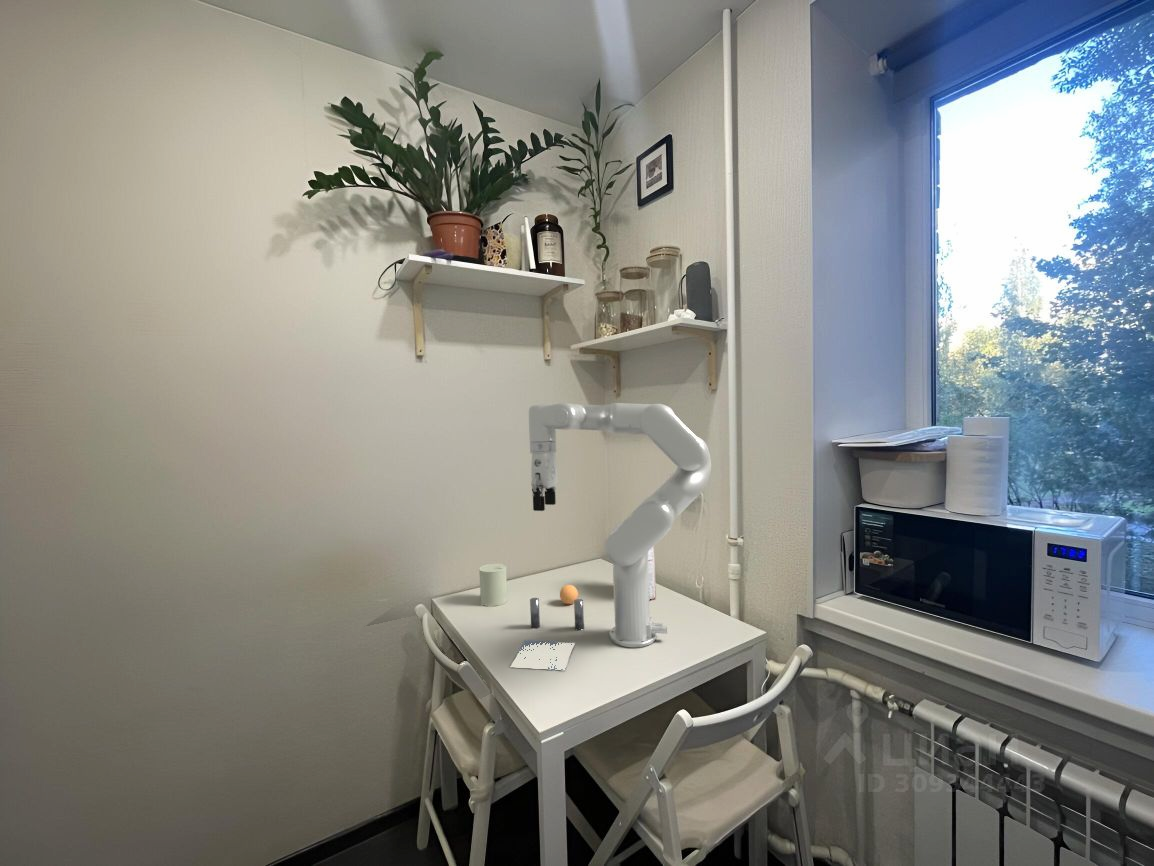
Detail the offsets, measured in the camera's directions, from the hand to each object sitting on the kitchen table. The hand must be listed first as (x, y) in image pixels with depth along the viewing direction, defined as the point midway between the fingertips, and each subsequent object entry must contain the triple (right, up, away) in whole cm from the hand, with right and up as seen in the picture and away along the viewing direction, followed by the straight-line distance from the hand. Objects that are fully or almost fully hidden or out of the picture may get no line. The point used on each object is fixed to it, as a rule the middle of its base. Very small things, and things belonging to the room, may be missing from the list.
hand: (544, 507), depth 130 cm
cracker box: (+30, -34, +25) cm, 52 cm away
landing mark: (+1, -35, -14) cm, 38 cm away
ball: (+7, -32, +19) cm, 38 cm away
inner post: (+10, -35, 0) cm, 36 cm away
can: (-19, -36, +24) cm, 47 cm away
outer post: (-3, -35, +2) cm, 35 cm away
